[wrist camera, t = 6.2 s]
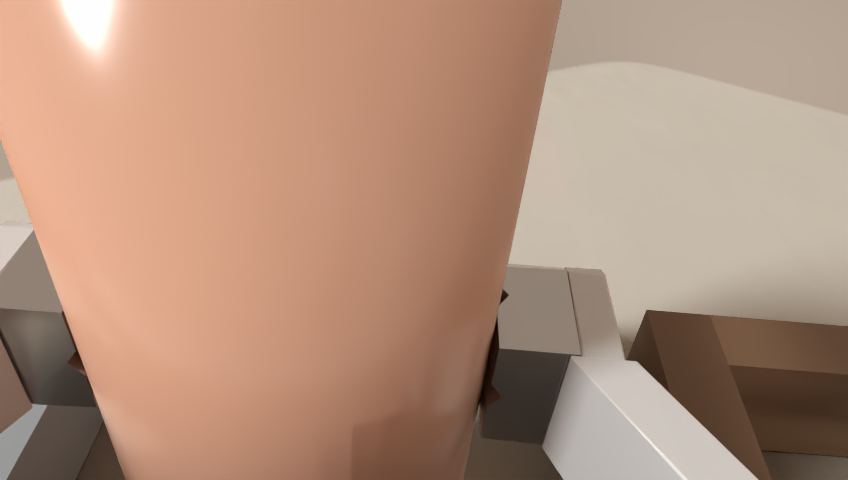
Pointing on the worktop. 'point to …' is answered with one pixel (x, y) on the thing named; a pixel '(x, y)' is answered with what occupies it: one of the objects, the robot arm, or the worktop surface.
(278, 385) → the peach cylinder
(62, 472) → the grey square frame
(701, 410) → the partly covered box
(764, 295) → the worktop surface
